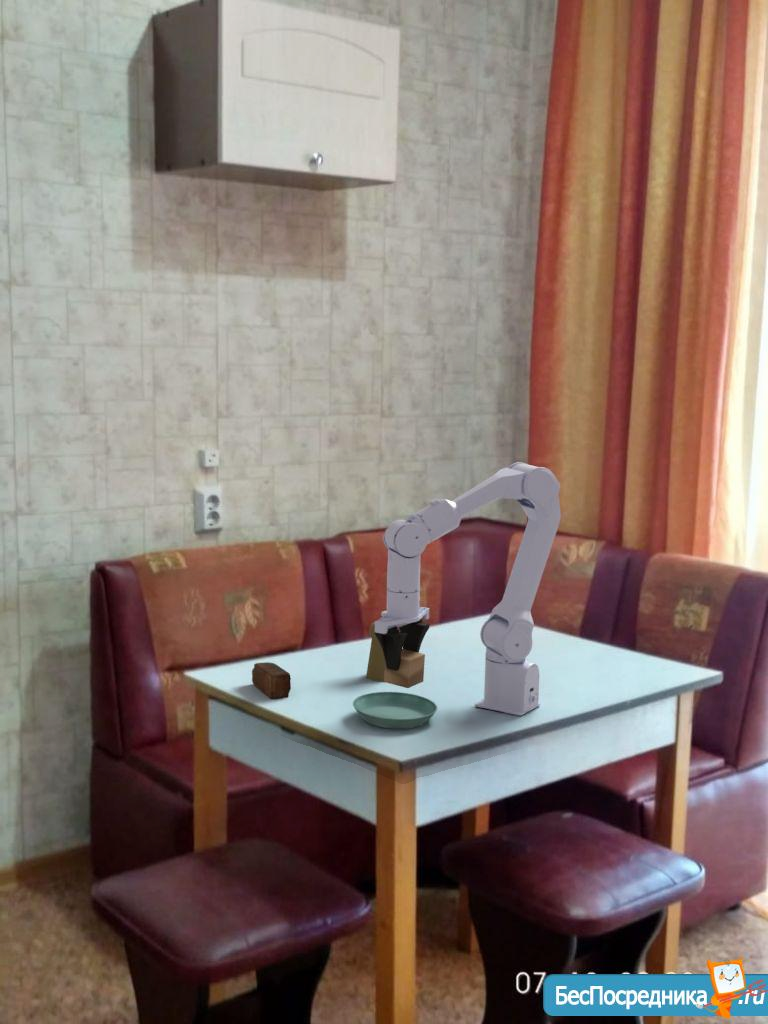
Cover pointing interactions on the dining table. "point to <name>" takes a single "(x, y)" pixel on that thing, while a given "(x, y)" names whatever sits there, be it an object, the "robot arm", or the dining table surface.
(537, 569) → the robot arm
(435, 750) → the dining table surface
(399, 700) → the saucer
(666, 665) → the dining table surface
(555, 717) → the dining table surface
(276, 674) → the brick
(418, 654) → the walnut block
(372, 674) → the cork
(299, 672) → the dining table surface
